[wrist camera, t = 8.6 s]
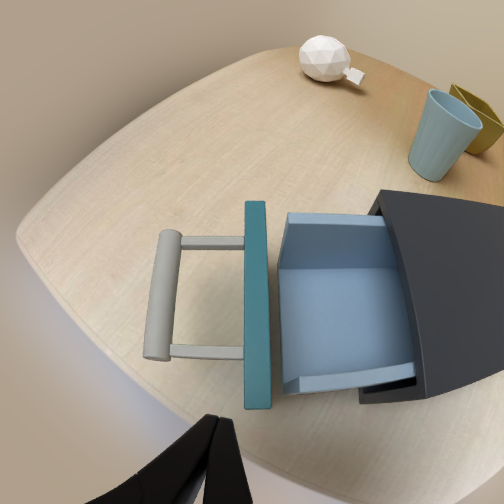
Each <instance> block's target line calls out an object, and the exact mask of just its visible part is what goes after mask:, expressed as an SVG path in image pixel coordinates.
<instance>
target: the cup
mask: <svg viewBox="0 0 504 504" xmlns="http://www.w3.org/2000/svg"><path fill="white" fill-rule="evenodd" d="M482 127H483V125H482V122H481V121H480V119H479V118H478V116H477V115H476V114H475V113H474V112H473V111H472V110H471V109H470V108H469V107H468V106H466V105H465V104H464V103H462V102H461V101H460V100H458V99H457V98H455V97H453V96H451V95H450V94H448V93H445V92H443V91H440V90H437V89H430V90H429V91H428V95H427V99H426V102H425V106H424V110H423V113H422V116H421V120H420V123H419V126H418V129H417V133H416V136H415V139H414V142H413V145H412V148H411V151H410V154H409V163H410V165H411V167H412V168H413V169H414V170H415V171H416V172H417V173H418V174H419V175H420V176H422V177H423V178H425V179H427V180H429V181H433V182H437V181H440V180H441V179H442V178H443V176H444V175H445V174H446V173H447V172H448V170H449V169H450V168H451V167H452V166H453V164H454V163H455V162H456V161H457V160H458V158H459V157H460V156H461V155H462V153H463V152H464V151H465V149H466V148H467V147H468V146H469V144H470V143H471V142H472V140H473V139H474V138H475V137H476V136H477V134H478V133H479V132H480V131H481V129H482Z"/></svg>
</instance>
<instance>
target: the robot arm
mask: <svg viewBox="0 0 504 504" xmlns="http://www.w3.org/2000/svg"><path fill="white" fill-rule="evenodd" d="M137 474H138V475H137ZM137 474H134V476H132V477H130V478H129V479H128V480H126V481H125V482H124V483H122V484H121V485H119V486H118V487H117V488H114V489H113V490H111V491H109V492H107V493H106V494H104V495H102V496H100V497H98V498H96V499H93V500H91V501H89V502H87V503H85V504H193V503H194V501H195V499H196V497H197V494H198V492H199V490H200V488H201V485H202V483H203V480H204V479H205V476H206V479H205V488H204V496H203V504H253V501H252V497H251V493H250V489H249V486H248V482H247V478H246V474H245V470H244V467H243V462H242V458H241V454H240V450H239V446H238V442H237V438H236V433H235V429H234V424H233V421H232V419H229V418H224V417H220V418H219V417H218V416H215V415H211V414H206V415H204V416H203V417H202V418H201V419H200V420H199V421H198V422H197V423H196V424H195V425H193V426H192V427H191V428H190V429H189V430H188V431H187V432H186V433H184V434H183V435H182V436H181V437H180V438H179V439H177V440H176V441H175V442H174V443H173V444H172V445H170V446H169V447H168V448H167V449H166V450H165V451H163V452H162V453H161V454H160V455H158V457H156V458H155V459H154V460H153V461H151V462H150V463H149V464H147V465H146V466H145V467H144V468H142V469H141V470H140V471H138V472H137Z"/></svg>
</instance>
